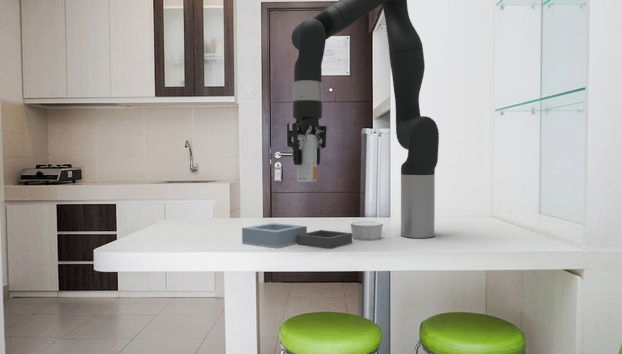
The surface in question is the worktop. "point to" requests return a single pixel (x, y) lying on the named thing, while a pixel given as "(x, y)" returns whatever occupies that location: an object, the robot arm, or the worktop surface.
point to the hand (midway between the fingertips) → (307, 164)
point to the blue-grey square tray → (272, 235)
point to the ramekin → (366, 230)
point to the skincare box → (308, 160)
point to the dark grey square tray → (325, 239)
